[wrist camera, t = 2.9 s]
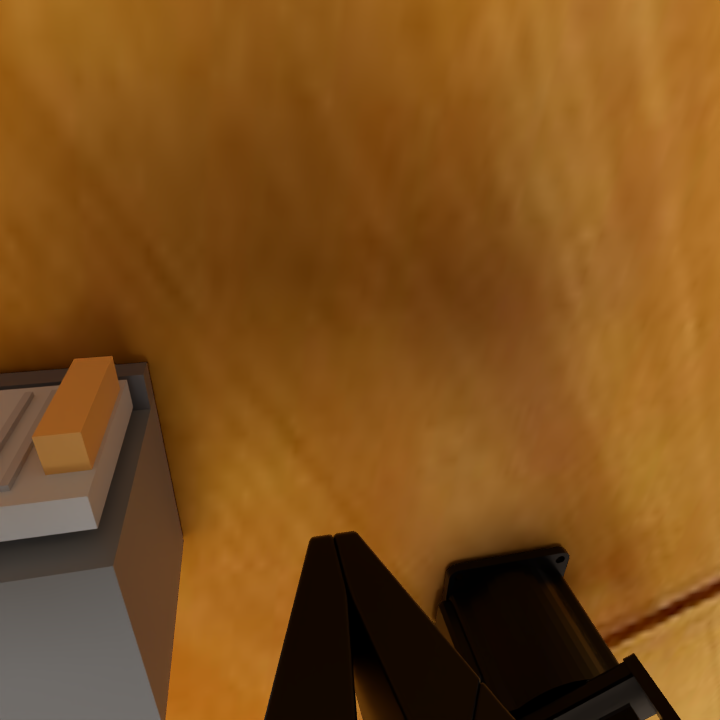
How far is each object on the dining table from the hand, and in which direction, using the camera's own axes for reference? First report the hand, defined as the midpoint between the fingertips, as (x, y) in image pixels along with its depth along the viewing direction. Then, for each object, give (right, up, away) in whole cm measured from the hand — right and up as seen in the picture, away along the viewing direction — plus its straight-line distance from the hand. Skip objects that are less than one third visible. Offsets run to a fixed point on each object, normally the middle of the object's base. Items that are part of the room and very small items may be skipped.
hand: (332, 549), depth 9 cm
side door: (-10, +3, +6) cm, 11 cm away
